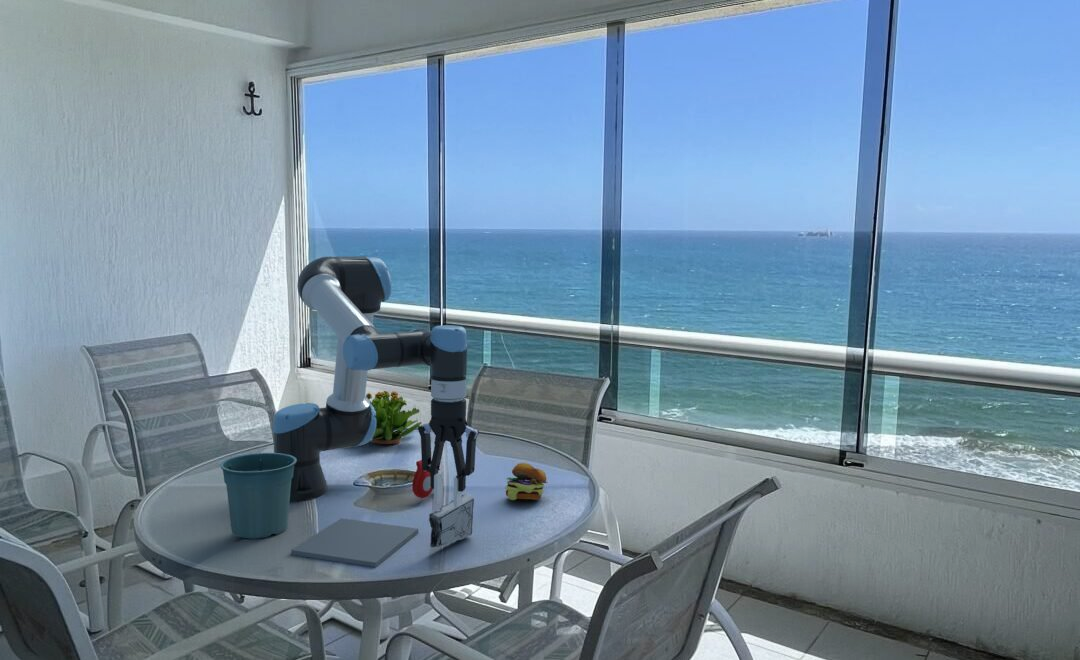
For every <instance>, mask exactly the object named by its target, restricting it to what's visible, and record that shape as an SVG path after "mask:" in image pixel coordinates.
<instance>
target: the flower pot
mask: <svg viewBox="0 0 1080 660" xmlns="http://www.w3.org/2000/svg"><path fill="white" fill-rule="evenodd" d="M296 461H297V459H296V458H295V457H294V456H291V455H287V454H280V453H274V452H256V453H254V452H253V453H247V454H246V453H245V454H241V455H236V456H231V457H229V458H226V459H224V460H223V461H221V462H220V464H219V466H220V468H221V470H222V473H223V481H224V484H225V485H226V492H227V493H226V494H227V503H228V510H229V519H230V527H231V529H230V530H231V533H232V535H236V536H237V537H238V538H242V539H243V538H244V539H254V540H255V539H262V538H269V537H270V536H271V535H273V534H274V535H280V534H281V533H283V532H284V531H286V529H287V528H288V523H289V512H290V511H289V510H290V503H291V501H290V490H291V479H292V478H293V471H294V465H295V464H296Z"/></svg>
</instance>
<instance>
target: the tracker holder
mask: <svg viewBox="0 0 1080 660" xmlns="http://www.w3.org/2000/svg"><path fill="white" fill-rule="evenodd" d="M443 482H444V478H443V477H442V486H443ZM411 486H412V488H411V489H412V491H413V494H414V496H415V497H417V498H420V499H425V498H427V497H428V496H430V495H431V494H432V492H433V491H434V488H431V486H430V473H429V472H428V471H424V470H423V469H422V459H420V460H418V461H417V460H416V471H415V473H414V475H413V480H412V485H411Z"/></svg>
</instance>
